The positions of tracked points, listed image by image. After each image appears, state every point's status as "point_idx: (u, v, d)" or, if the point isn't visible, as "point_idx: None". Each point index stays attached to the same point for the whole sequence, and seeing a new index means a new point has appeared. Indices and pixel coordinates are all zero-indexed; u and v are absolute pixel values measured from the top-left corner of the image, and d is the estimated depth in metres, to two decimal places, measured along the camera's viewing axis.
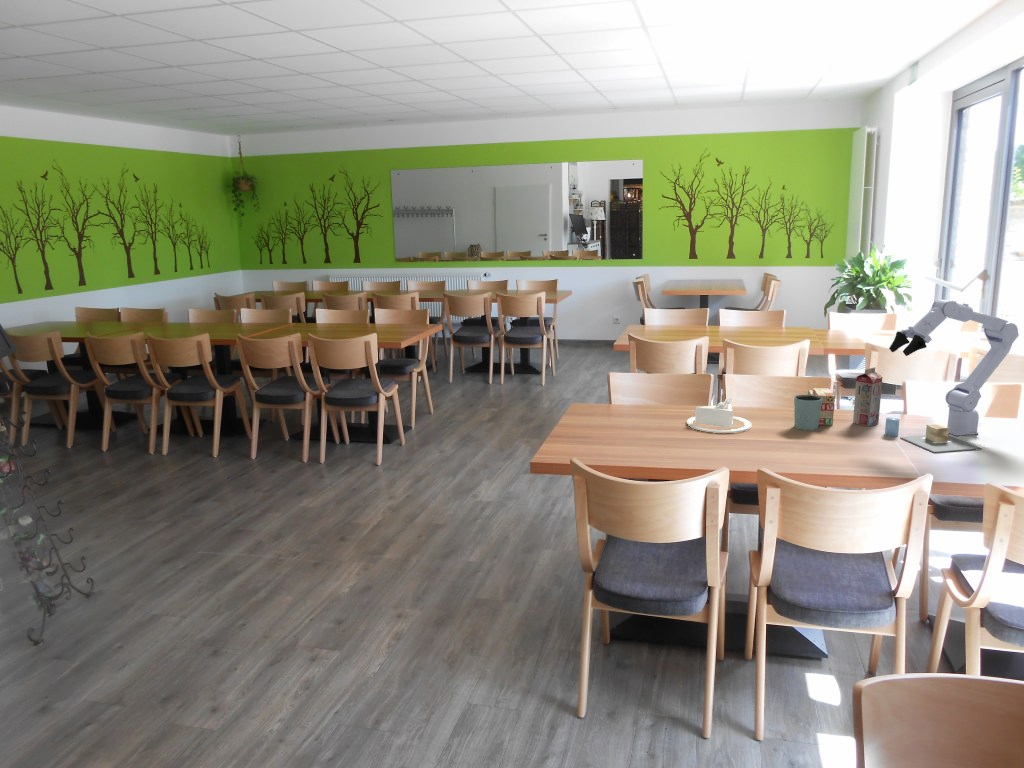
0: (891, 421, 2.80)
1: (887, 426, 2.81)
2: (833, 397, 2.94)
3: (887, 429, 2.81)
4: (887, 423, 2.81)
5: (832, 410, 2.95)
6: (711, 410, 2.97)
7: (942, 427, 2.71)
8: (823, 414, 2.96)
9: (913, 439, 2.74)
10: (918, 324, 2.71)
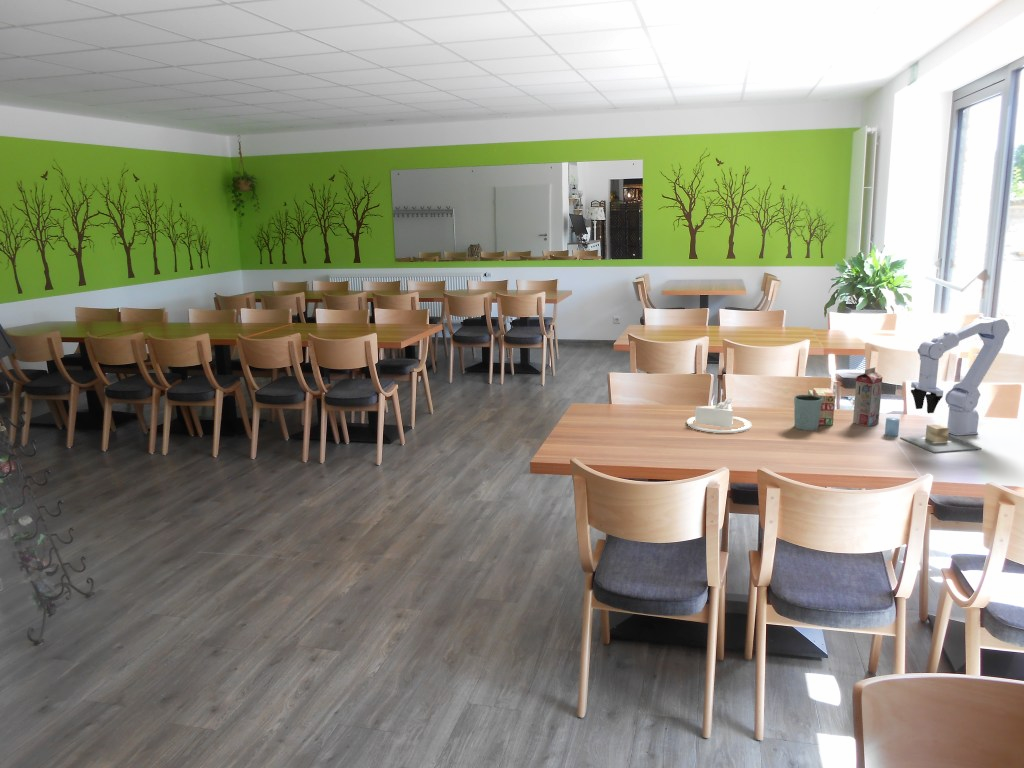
0: (891, 421, 2.80)
1: (887, 426, 2.81)
2: (833, 397, 2.94)
3: (887, 429, 2.81)
4: (887, 423, 2.81)
5: (832, 410, 2.95)
6: (711, 410, 2.97)
7: (942, 427, 2.71)
8: (823, 413, 2.96)
9: (913, 439, 2.74)
10: (921, 380, 2.75)
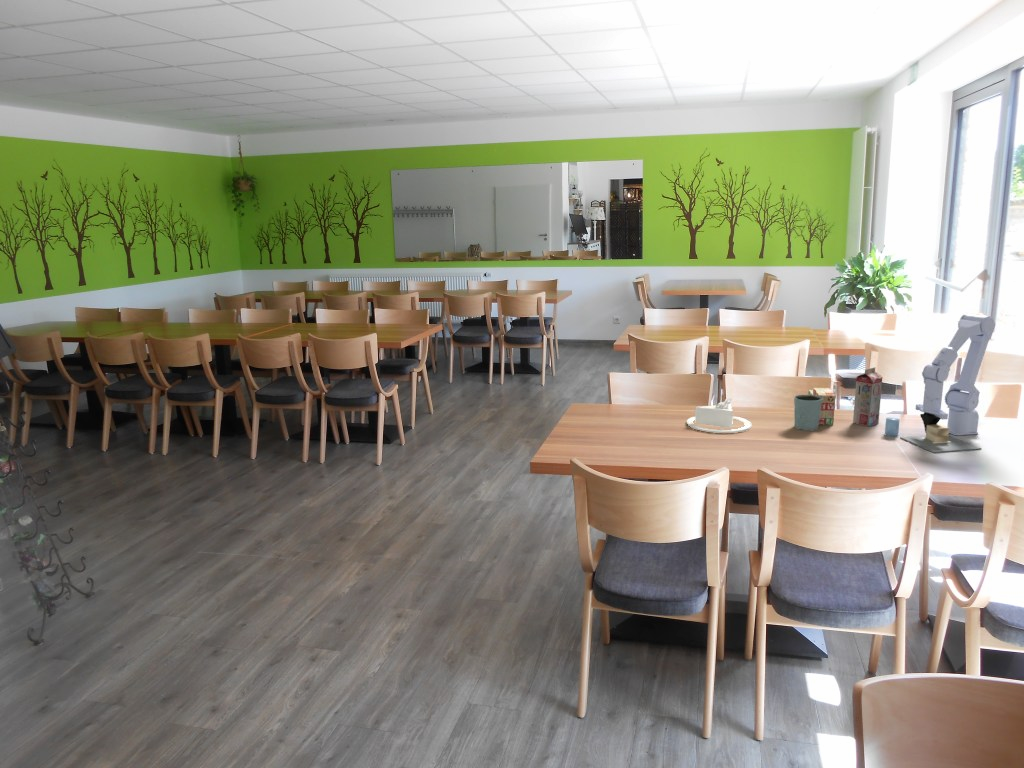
0: (891, 421, 2.80)
1: (887, 426, 2.81)
2: (834, 397, 2.94)
3: (887, 429, 2.81)
4: (887, 423, 2.81)
5: (833, 410, 2.95)
6: (711, 410, 2.97)
7: (942, 427, 2.71)
8: (823, 413, 2.96)
9: (913, 439, 2.74)
10: (926, 403, 2.73)
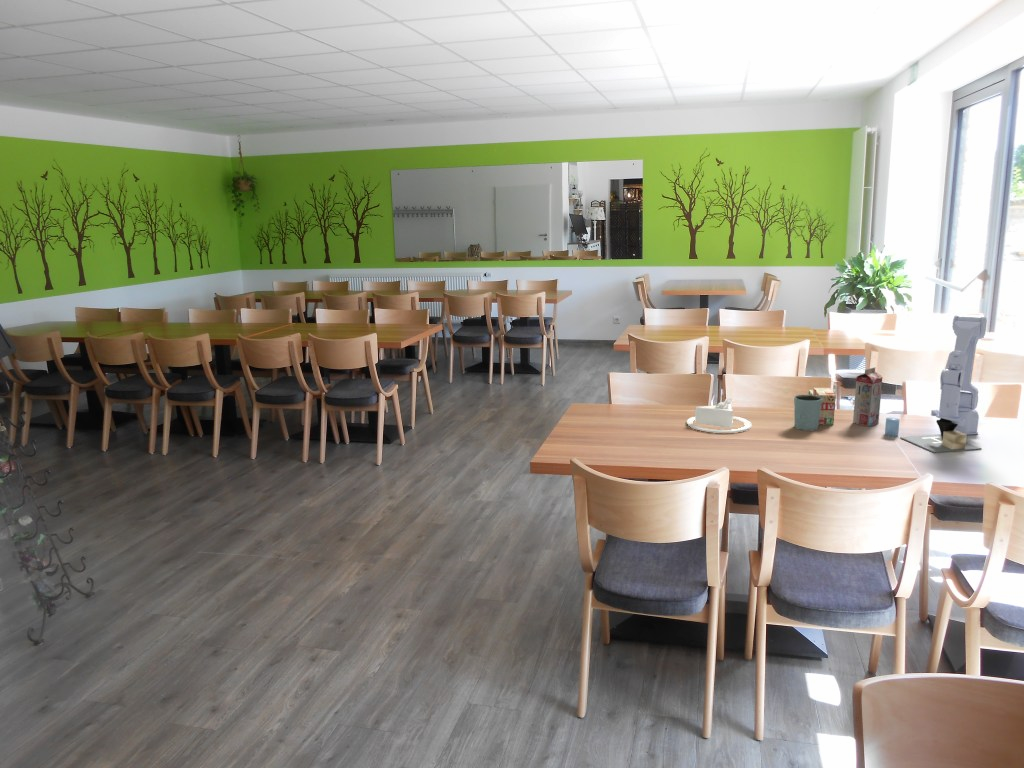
0: (891, 421, 2.80)
1: (887, 426, 2.81)
2: (834, 397, 2.94)
3: (887, 429, 2.81)
4: (887, 423, 2.81)
5: (833, 410, 2.95)
6: (711, 410, 2.97)
7: (960, 434, 2.62)
8: (823, 413, 2.96)
9: (913, 439, 2.74)
10: (942, 409, 2.65)
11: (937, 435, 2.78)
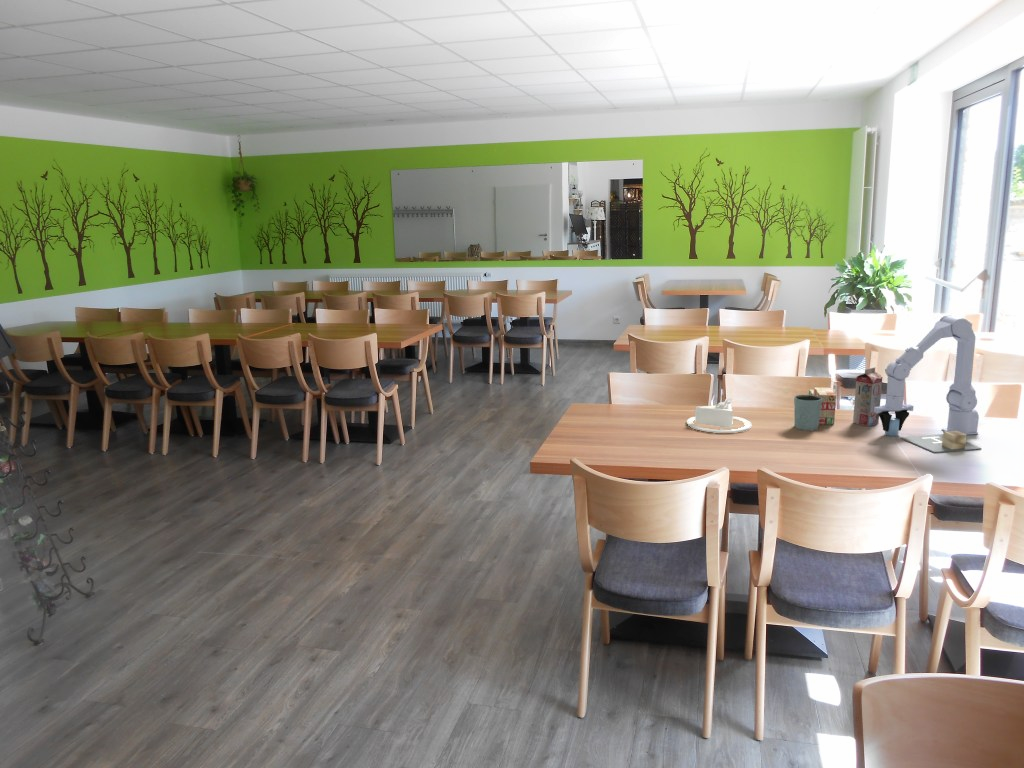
0: (891, 421, 2.80)
1: None
2: (834, 396, 2.95)
3: None
4: None
5: (833, 409, 2.96)
6: (711, 410, 2.97)
7: (959, 434, 2.62)
8: (824, 413, 2.97)
9: (913, 439, 2.74)
10: None
11: (937, 435, 2.78)
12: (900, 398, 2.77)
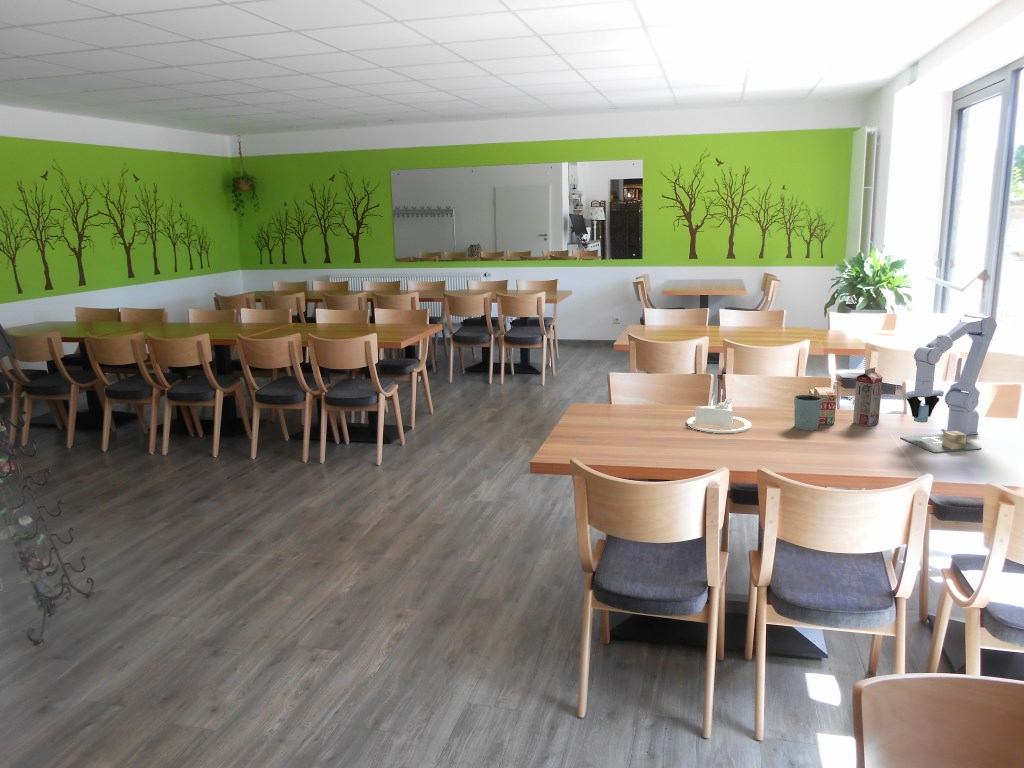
0: (921, 407, 2.72)
1: None
2: (835, 396, 2.95)
3: None
4: None
5: (834, 409, 2.96)
6: (711, 410, 2.97)
7: (959, 434, 2.62)
8: (824, 413, 2.97)
9: (913, 439, 2.74)
10: None
11: (937, 435, 2.78)
12: (930, 383, 2.69)
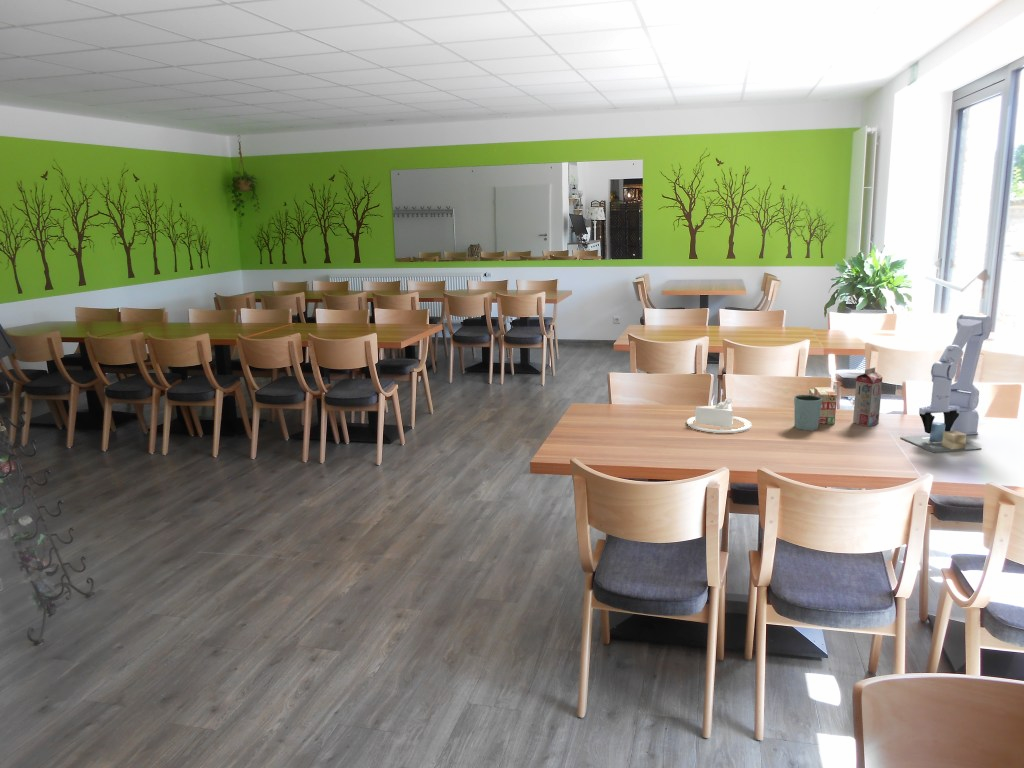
0: (937, 426, 2.70)
1: (933, 431, 2.71)
2: (835, 396, 2.95)
3: (933, 434, 2.72)
4: (933, 428, 2.71)
5: (834, 409, 2.96)
6: (711, 410, 2.97)
7: (959, 434, 2.62)
8: (825, 412, 2.97)
9: (913, 439, 2.74)
10: None
11: None
12: (947, 399, 2.67)
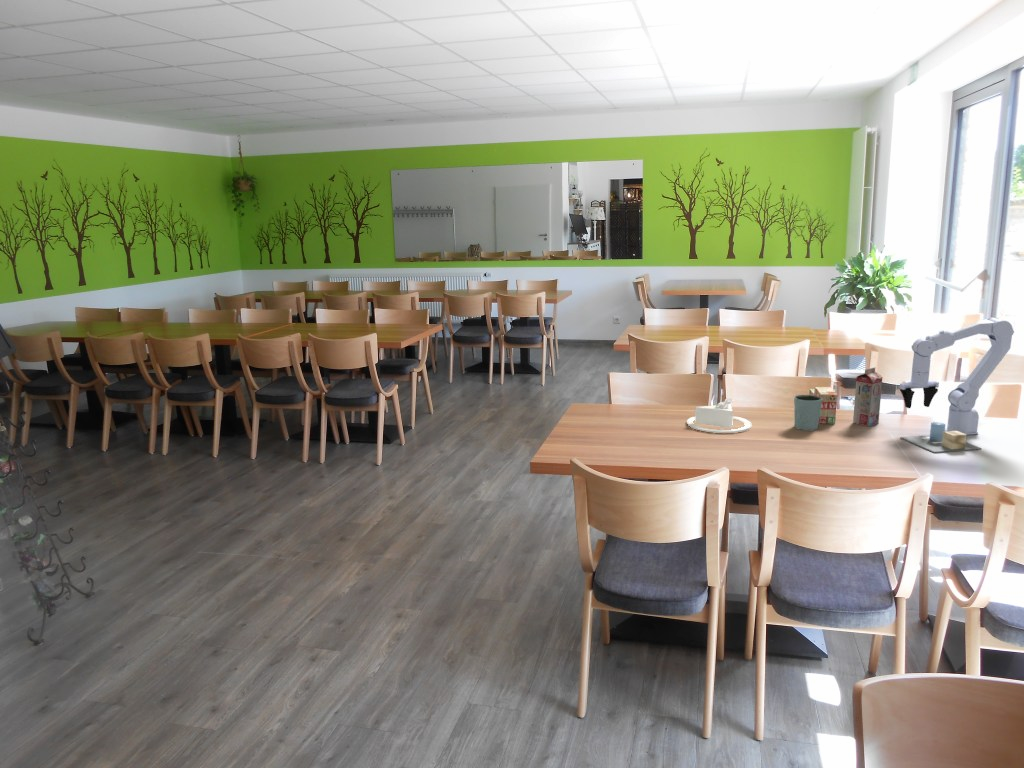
0: (937, 426, 2.70)
1: (933, 431, 2.71)
2: (835, 396, 2.96)
3: (933, 434, 2.72)
4: (933, 428, 2.71)
5: (834, 409, 2.97)
6: (711, 410, 2.97)
7: (959, 434, 2.62)
8: (825, 412, 2.98)
9: (913, 439, 2.74)
10: None
11: None
12: (926, 374, 2.78)
